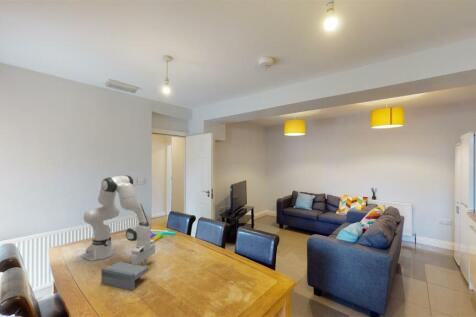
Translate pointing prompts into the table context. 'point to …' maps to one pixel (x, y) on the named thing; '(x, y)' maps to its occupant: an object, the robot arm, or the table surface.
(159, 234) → the puzzle game
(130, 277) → the grey block
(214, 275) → the table surface
